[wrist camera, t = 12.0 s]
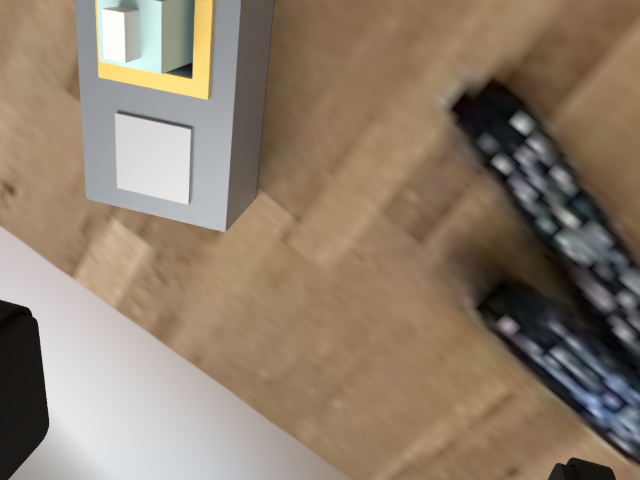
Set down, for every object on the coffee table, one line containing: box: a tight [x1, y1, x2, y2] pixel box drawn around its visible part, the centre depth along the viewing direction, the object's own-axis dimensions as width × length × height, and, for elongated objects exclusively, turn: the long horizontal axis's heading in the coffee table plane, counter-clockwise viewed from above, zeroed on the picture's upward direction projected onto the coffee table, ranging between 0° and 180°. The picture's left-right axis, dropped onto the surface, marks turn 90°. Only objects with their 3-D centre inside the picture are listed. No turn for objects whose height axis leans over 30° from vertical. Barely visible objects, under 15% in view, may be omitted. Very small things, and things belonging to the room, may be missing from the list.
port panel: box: [75, 0, 274, 232], centre depth 37 cm, size 16×10×6 cm, turn 172°
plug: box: [97, 0, 195, 74], centre depth 33 cm, size 4×4×10 cm
